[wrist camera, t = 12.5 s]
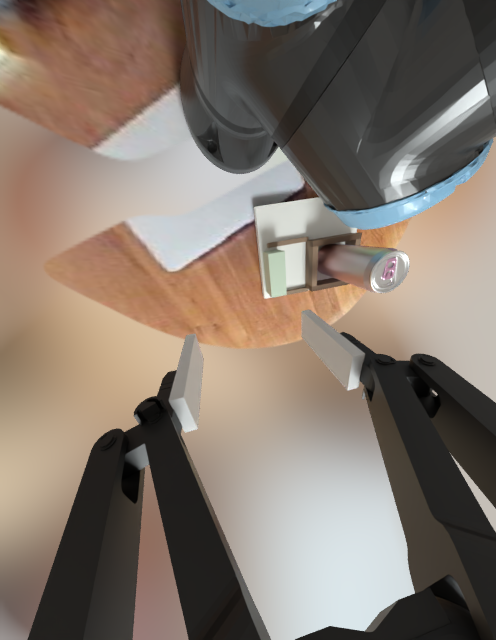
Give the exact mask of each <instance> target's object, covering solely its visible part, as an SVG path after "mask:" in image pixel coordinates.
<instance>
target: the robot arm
mask: <svg viewBox="0 0 496 640" xmlns="http://www.w3.org/2000/svg"><path fill="white" fill-rule="evenodd" d="M180 1H181V7H182V13H183V20H184V26H185V32H186V39H187V40H186V44H185V48H184V52H183V56H182V62H181V70H180V89H181V98H182V104H183V109H184V113H185V117H186V121H187V124H188V127H189V130H190V132H191V135H192V137H193V139H194V141H195V143H196V144H197V146H198V148H199V149H200V150H201V152H202V153H203V154H204V156H205V157H206V158H207V159H208V160H209V161H210V162H212V163H213V164H214V165H216V166H217V167H219V168H220V169H222V170H224V171H227V172H230V173H235V174H244V173H249V172H252V171H255V170H257V169H259V168H260V167H261V166H263V165H264V164H265V163H266V162H267V161H268V160H269V159H270V158H271V156H272V155H273V154H274V152H275V151H276V149H277V148H278V146H279V147H280V149H281V150H282V152H283V153H284V154H285V155H286V156H287V158H288V159H289V160H290V161H291V163H292V164H293V165H294V166H295V167H296V169H297V170H298V171H299V172H300V174H301V175H302V176H303V177H304V179H305V180H306V181H307V182H308V184H309V185H310V186H311V187H312V189H313V190H314V191H315V192H316V193H317V195H318V196H319V197H320V198H321V200H322V201H323V203H324V206H325V207H326V208H327V209H328V210H329V211H331V212H333V213H334V214H335V215H336V216H337V217H338V218H339V219H340V220H341V221H342V222H343V223H344V224H345V225H347V226H349V227H351V228H358V229H363V230H366V229H376V228H381V227H385V226H389V225H392V224H395V223H398V222H400V221H403V220H405V219H408V218H410V217H412V216H415V215H417V214H419V213H421V212H423V211H425V210H426V209H428V208H430V207H432V206H433V205H435V204H437V203H438V202H440V201H442V200H443V199H444V198H446V197H447V196H449V195H450V194H451V193H453V192H454V190H455V186H456V185H459V184H462V183H464V182H466V181H467V180H468V179H469V178H470V177H472V176H473V175H474V174H475V173H476V171H477V170H478V169H479V168H480V167H481V165H482V164H483V162H484V161H485V159H486V157H487V155H488V152H489V150H490V147H491V145H492V143H493V138H494V137H495V136H496V0H180ZM302 338H303V339H304V340H305V341H306V343H307V344H308V345H309V346H310V347H311V348H312V350H313V351H314V352H315V353H316V354H317V355H318V357H319V358H320V359H321V360H322V361H323V363H324V364H325V365H326V366H327V367H328V368H329V370H330V371H331V372H332V373H333V374H334V376H335V377H336V378H337V379H338V380H339V381H340V382H341V384H342V385H343V386H344V387H345V388H346V390H352V389H355V388H358V387H359V382H360V381H361V382H362V383H363V384H364V389H363V394H362V399H364V397H366V400H367V403H368V407H369V411H370V414H371V418H372V421H373V425H374V428H375V432H376V436H377V439H378V442H379V446H380V449H381V453H382V457H383V460H384V464H385V467H386V470H387V474H388V477H389V481H390V485H391V488H392V492H393V495H394V498H395V502H396V506H397V509H398V513H399V516H400V520H401V523H402V527H403V530H404V534H405V538H406V542H407V547H408V564H409V570H410V575H411V579H412V582H413V586H414V590H415V594H413V595H410V596H407V597H405V598H402V599H400V600H398V601H396V602H395V603H393V604H392V605H390V606H389V607H387V608H386V609H384V610H383V611H381V612H380V613H379V614H378V616H377V617H376V618H375V619H374V620H373V622H372V623H371V624H370V625H369V627H368V628H367V629H366V630H365V631H358V630H351V629H345V628H338V627H332V626H329V627H326V628H324V629H321V630H318V631H316V632H313V633H310V634H308V635H305V636H303V637H300V638H298V639H295V640H496V532H495V531H494V529H493V527H492V526H491V524H490V522H489V521H488V519H487V518H486V515H485V514H484V512H483V510H482V508H481V507H480V505H479V503H478V501H477V500H476V498H475V496H474V495H473V493H472V491H471V489H470V487H469V486H468V484H467V482H466V481H465V479H464V477H463V475H462V474H461V472H460V470H459V468H458V467H457V465H456V463H455V461H454V460H453V458H452V456H453V457H454V458H455V459H456V461H457V462H458V463H459V464H460V466H461V467H462V468H463V469H464V470H465V472H466V473H467V474H468V475H469V476H470V478H471V479H472V480H473V481H474V483H475V484H476V485H477V486H478V487H479V489H480V490H481V491H482V492H483V494H484V495H485V496H486V497H487V498H488V500H489V501H490V502H491V503H492V504H493V506H494V507H495V508H496V403H495V402H494V401H493V400H491V399H490V398H489V397H487V396H486V395H485V394H483V393H482V392H481V391H479V390H478V389H477V388H476V387H474V386H473V385H471V384H470V383H469V382H468V381H466V380H465V379H464V378H462V377H461V376H460V375H458V374H457V373H456V372H455V371H453V370H452V369H451V368H449V367H448V366H446V365H445V364H444V363H443V362H441V361H440V360H438V359H437V358H435V357H432V356H430V355H426V354H414V355H412V356H411V359H410V361H396V360H395V359H394V358H392V357H390V356H387V355H383V354H376V353H374V352H373V351H371V350H370V349H369V348H368V347H366V346H365V345H364V344H362V343H360V341H358V340H356V339H355V338H354V337H353V336H351V335H350V334H347V333H345V332H342V333H338V332H337V331H336V330H335V329H333V328H332V327H331V326H330V325H328V324H327V323H326V322H325V321H323V320H322V319H321V318H320V317H318V316H317V315H316V314H315V313H313V312H312V311H311V310H305V311H302ZM202 372H203V356H202V353H201V350H200V347H199V343H198V340H197V337H196V334H191V335H186V338H185V342H184V345H183V349H182V353H181V357H180V360H179V364H178V368H177V370H176V371H171V372H168V373H167V374H166V375H165V377H164V378H163V380H162V383H161V386H160V389H159V392H158V395H157V396H154V397H150V398H148V399H145V400H144V401H143V402H141V403H140V404H139V405H138V406H137V408H136V409H135V411H134V417H135V419H136V420H137V422H138V423H139V425H137V426H135V427H133V428H131V429H130V430H128V431H126V432H123V431H122V430H121V429H113V430H110V431H109V432H107V433H105V434H104V435H103V436H101V437H100V438H99V439H98V441H97V442H96V443H95V444H94V446H93V448H92V450H91V453H90V456H89V459H88V462H87V465H86V468H85V471H84V474H83V477H82V479H81V483H80V485H79V488H78V492H77V494H76V497H75V500H74V503H73V506H72V509H71V512H70V515H69V518H68V521H67V524H66V527H65V530H64V533H63V536H62V539H61V542H60V545H59V548H58V551H57V554H56V557H55V560H54V563H53V566H52V569H51V572H50V575H49V578H48V581H47V583H46V586H45V589H44V592H43V595H42V598H41V602H40V604H39V607H38V610H37V613H36V616H35V619H34V622H33V625H32V628H31V631H30V634H29V637H28V640H132V638H133V624H134V610H135V597H136V584H137V569H138V556H139V543H140V529H141V515H142V501H143V487H144V474H145V466H147V465H150V469H151V473H152V478H153V482H154V487H155V491H156V496H157V500H158V505H159V509H160V514H161V518H162V522H163V527H164V531H165V536H166V540H167V545H168V549H169V554H170V558H171V563H172V566H173V571H174V576H175V580H176V584H177V589H178V594H179V598H180V603H181V607H182V611H183V616H184V620H185V625H186V629H187V634H188V638H189V640H271V639H270V636H269V634H268V632H267V629H266V627H265V625H264V623H263V620H262V618H261V616H260V614H259V612H258V610H257V608H256V606H255V604H254V601H253V599H252V597H251V595H250V593H249V590H248V588H247V586H246V583H245V581H244V579H243V576H242V574H241V572H240V570H239V567H238V565H237V563H236V560H235V558H234V556H233V554H232V551H231V549H230V546H229V544H228V542H227V540H226V537H225V535H224V533H223V530H222V528H221V526H220V524H219V521H218V519H217V517H216V514H215V512H214V510H213V507H212V505H211V503H210V500H209V498H208V496H207V494H206V491H205V489H204V487H203V484H202V482H201V480H200V477H199V475H198V473H197V470H196V468H195V466H194V464H193V461H192V459H191V457H190V454H189V452H188V450H187V447H186V445H185V443H184V441H183V438H182V436H181V430H182V428H183V430H184V432H189V431H192V430H196V429H198V421H199V409H200V396H201V384H202ZM432 390H434V391H435V392H436V393H437V394H438V395H437V396H436V395H435V394H434V393H433V392H432ZM449 452H450V453H451V454H450V453H449ZM451 455H452V456H451Z"/></svg>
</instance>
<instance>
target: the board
mask: <svg viewBox="0 0 496 640" xmlns="http://www.w3.org/2000/svg"><path fill="white" fill-rule="evenodd" d="M254 217H255V226H256V236H257V245H258V254H259V264H260V273H261V283H262V292H263V297H264V298H271V296H270V295H269V294H268V293H267V292H266V283H265V273H264V262H263V252H265V251H271V250H277V249H278V250H282V251H285V266H286V290H287V295H290V294H295V293H300V292H305V291H308V290H309V289H307V288H306V287H305V254H306V242H307V241H308V240H311V239H317V238H323V237H329V236H335V235H341V234H347V233H356V232H357V228H351V227H349V226H347V225H345V224H344V223H343V222H342V221H341V220H340V219H339V218H338V217H337V216H336V215H335V214H334V213H333V212H331V211H329V210H328V209H327V208H326V207H325V206H324V203H323V201H322V200H321V198H320V197H318V198H311V199H304V200H297V201H290V202H283V203H277V204H270V205H263V206H256V207H254ZM333 244H344V245H345V242H339V243H333ZM324 246H325V245H322V246H318V252H319V250H320V249H321V248H322V247H324ZM329 278H333V277H330V276H327V275H324V274H322V273H320V272H319V271H318V270H317V281H318V280H324V279H329ZM283 296H285V295H283ZM278 297H280V296H278ZM273 298H275V297H273Z"/></svg>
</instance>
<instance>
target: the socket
mask: <svg viewBox="0 0 496 640" xmlns="http://www.w3.org/2000/svg"><path fill="white" fill-rule="evenodd" d="M361 235H362V233H347V234H341V235H335V236H329V237H323V238H317V239H311V240H308V241H307V242H306V254H305V287H306V288H307V289H309V290H310V291H317V290H322V289H327V288H332V287H337V286H342V285H347V284H349V283H346V282H344V281H341V280H338V279H335V278H329V279H324V280H318V281H317V265H318V246H322V245H327V244H333V243H339V242H345V245H356V246H360V242H361Z"/></svg>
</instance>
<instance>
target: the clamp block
mask: <svg viewBox="0 0 496 640" xmlns="http://www.w3.org/2000/svg"><path fill="white" fill-rule="evenodd" d="M263 262H264V273H265V283H266V292H267V293H268V294H269V295H270V296H271V297H272V298H273V297H278V296H283V295H287V290H286V266H285V251H282V250H278V249H277V250H271V251H265V252H263Z"/></svg>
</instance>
